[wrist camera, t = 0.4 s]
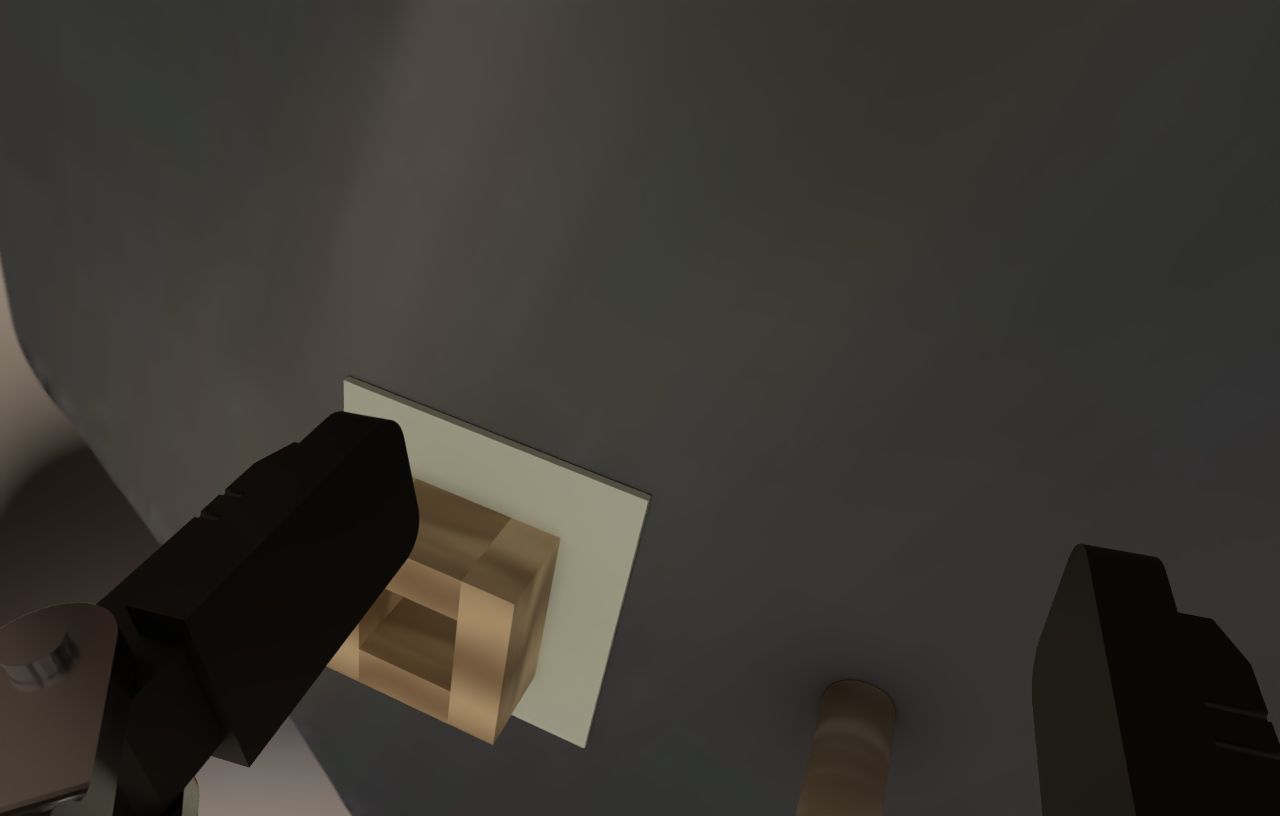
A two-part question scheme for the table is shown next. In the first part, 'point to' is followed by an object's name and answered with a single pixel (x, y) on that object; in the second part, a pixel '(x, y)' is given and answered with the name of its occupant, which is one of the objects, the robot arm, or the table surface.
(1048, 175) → the table surface
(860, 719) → the peg
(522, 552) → the wooden square frame
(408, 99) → the table surface
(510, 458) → the mat
